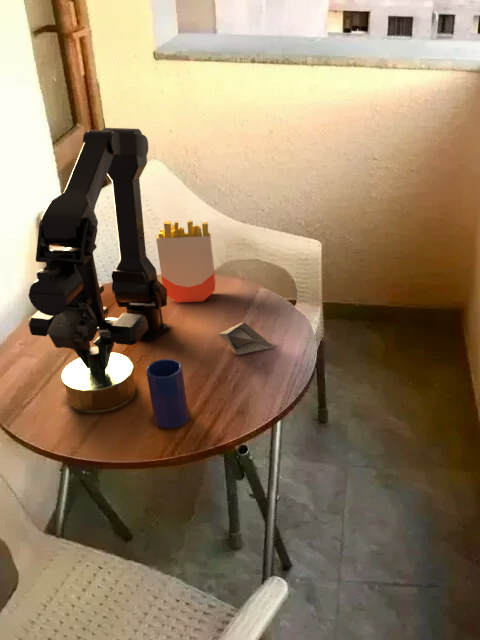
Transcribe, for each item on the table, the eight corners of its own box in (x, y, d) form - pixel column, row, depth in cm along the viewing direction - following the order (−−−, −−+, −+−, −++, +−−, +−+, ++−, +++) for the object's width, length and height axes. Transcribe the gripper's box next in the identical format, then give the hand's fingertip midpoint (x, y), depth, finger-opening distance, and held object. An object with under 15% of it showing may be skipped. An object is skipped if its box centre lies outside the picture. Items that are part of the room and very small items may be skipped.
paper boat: (255, 326, 145) (287, 330, 138) (249, 358, 144) (281, 363, 138) (209, 314, 136) (241, 317, 130) (202, 348, 136) (234, 352, 129)
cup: (170, 405, 124) (162, 355, 119) (195, 414, 122) (189, 364, 116) (147, 421, 120) (138, 371, 115) (173, 432, 118) (165, 381, 112)
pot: (103, 371, 134) (99, 350, 131) (148, 388, 129) (145, 367, 126) (55, 401, 126) (50, 379, 123) (102, 421, 121) (97, 399, 118)
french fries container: (167, 293, 160) (156, 215, 150) (216, 291, 161) (209, 213, 151) (165, 303, 156) (154, 223, 146) (215, 300, 157) (208, 221, 147)
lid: (99, 351, 132) (94, 326, 129) (149, 369, 127) (144, 344, 124) (47, 383, 123) (41, 357, 121) (98, 404, 118) (92, 377, 115)
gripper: (-1, 303, 111) (22, 388, 119) (112, 314, 107) (128, 400, 116) (37, 273, 120) (56, 353, 128) (142, 282, 116) (155, 364, 125)
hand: (97, 367), depth 124 cm, fingers closed on lid, 3 cm apart
